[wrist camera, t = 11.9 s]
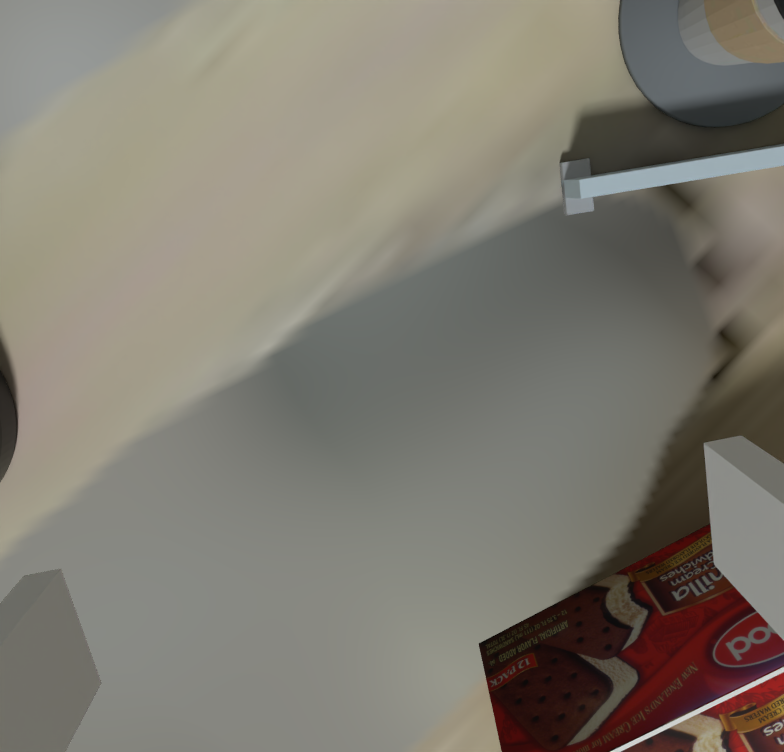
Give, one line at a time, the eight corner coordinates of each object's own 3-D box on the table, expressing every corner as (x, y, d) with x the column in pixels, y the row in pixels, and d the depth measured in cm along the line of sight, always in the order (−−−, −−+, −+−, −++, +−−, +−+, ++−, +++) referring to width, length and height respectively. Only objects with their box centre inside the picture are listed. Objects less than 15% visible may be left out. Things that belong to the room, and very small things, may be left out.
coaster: (626, 142, 42) (630, 142, 42) (609, -87, 39) (613, -91, 39) (832, 108, 42) (839, 107, 41) (832, -126, 39) (839, -131, 38)
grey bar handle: (564, 214, 43) (582, 217, 39) (559, 162, 42) (577, 160, 39) (833, 170, 43) (878, 169, 39) (832, 117, 42) (878, 110, 38)
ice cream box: (739, 507, 48) (870, 624, 35) (777, 580, 50) (915, 718, 37) (478, 643, 51) (512, 799, 38) (521, 709, 52) (567, 881, 39)
